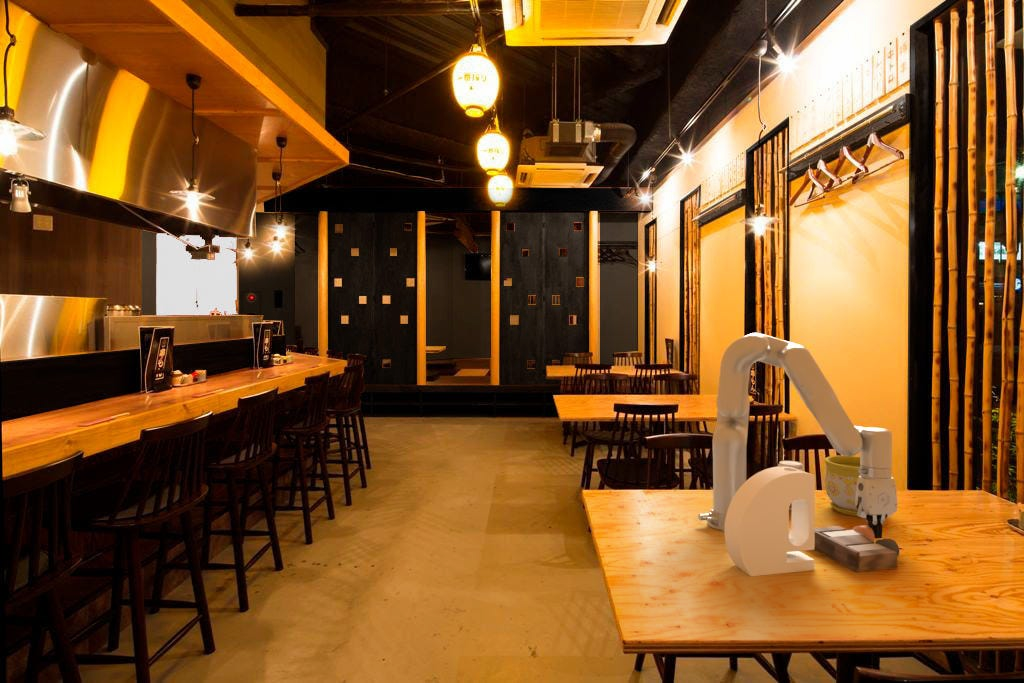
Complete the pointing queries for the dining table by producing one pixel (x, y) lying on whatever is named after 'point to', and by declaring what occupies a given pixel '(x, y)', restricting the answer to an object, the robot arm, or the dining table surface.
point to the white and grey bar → (878, 546)
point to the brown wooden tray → (853, 551)
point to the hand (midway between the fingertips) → (874, 536)
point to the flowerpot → (842, 482)
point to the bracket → (772, 522)
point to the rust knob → (854, 532)
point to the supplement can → (794, 465)
